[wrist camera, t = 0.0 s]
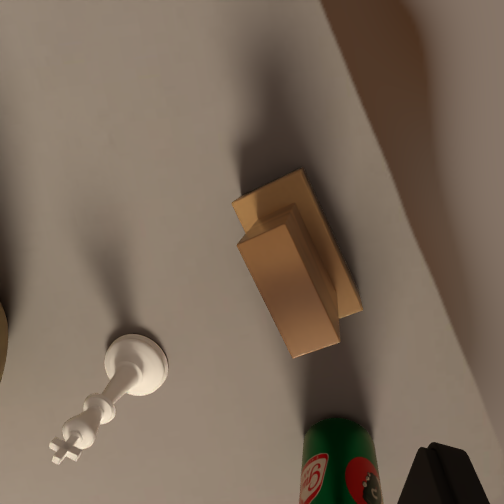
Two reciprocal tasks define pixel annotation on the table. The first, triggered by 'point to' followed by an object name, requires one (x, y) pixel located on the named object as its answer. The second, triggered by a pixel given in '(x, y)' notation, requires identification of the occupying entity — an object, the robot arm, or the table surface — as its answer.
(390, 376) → the table surface
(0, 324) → the tan bowl
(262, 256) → the wooden inverted t block
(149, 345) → the chess piece
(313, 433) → the soda can
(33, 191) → the table surface
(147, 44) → the table surface
